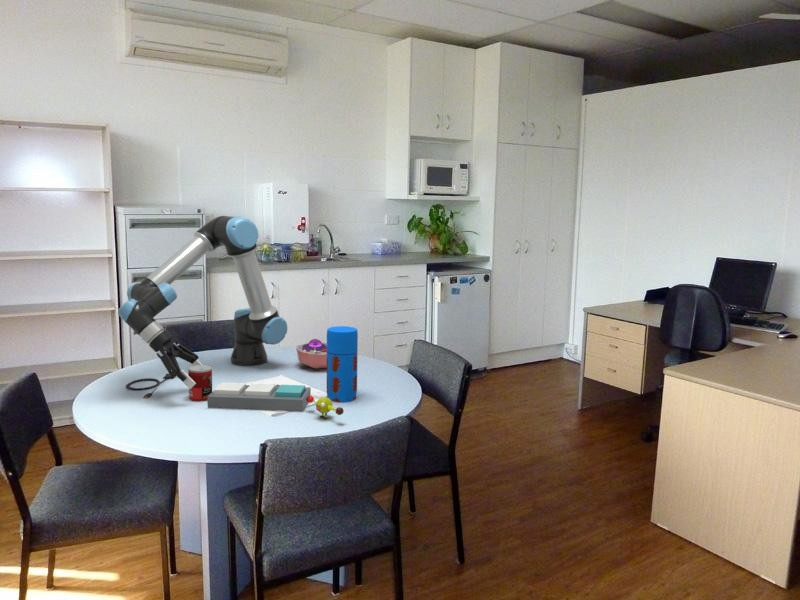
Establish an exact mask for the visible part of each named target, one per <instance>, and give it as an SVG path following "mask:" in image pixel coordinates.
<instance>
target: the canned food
mask: <svg viewBox="0 0 800 600" xmlns="http://www.w3.org/2000/svg"><path fill="white" fill-rule="evenodd" d="M187 375H188V376H189V377H190V378H191V379H192V380H193V381H194V382H195V383H196V384H195V385H194V386H193V387H192V388H191V389H189V388H188V394H189V395H188V397H189V399H190V400H191V401H192V402H193V401H194V402H205V401H207V396H208V395H210V394H211V393H212V392H213V369H212V366H210V365H207V364H202V365H195V366H192V365H191V366H189V367H188V373H187Z"/></svg>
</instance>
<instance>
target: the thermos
mask: <svg viewBox="0 0 800 600" xmlns="http://www.w3.org/2000/svg"><path fill="white" fill-rule="evenodd" d="M358 337H359V335H358V328H357V327H354V326H345V325H344V326H343V325H341V326H340V325H337V326H330V327H328V328H327V332H326V344H327V367H326V397H327V398H329V399H330V400H331V402H335V403H348V402H352V401H355V400H357V395H358V394H357V393H358V392H357V391H358V350H359V349H358V344H359V343H358V339H359V338H358Z"/></svg>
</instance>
